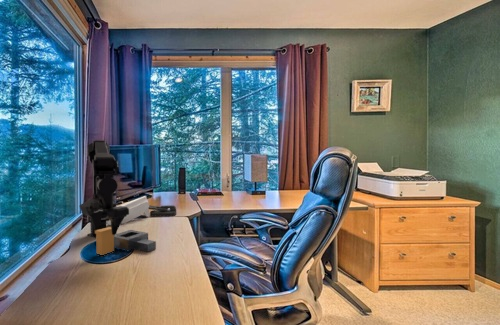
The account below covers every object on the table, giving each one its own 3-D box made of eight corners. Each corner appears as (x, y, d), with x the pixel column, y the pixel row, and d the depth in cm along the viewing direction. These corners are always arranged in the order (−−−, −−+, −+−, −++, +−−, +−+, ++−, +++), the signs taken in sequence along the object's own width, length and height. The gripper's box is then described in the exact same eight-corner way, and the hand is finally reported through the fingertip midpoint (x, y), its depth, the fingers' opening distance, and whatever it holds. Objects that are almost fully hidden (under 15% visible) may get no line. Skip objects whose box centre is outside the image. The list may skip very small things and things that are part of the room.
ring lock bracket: (90, 243, 115) (90, 228, 115) (113, 236, 125) (113, 222, 125) (140, 255, 103) (140, 239, 103) (162, 246, 113) (162, 231, 113)
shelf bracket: (152, 217, 161) (148, 196, 159) (112, 237, 141) (107, 213, 138) (146, 216, 164) (142, 195, 162) (105, 235, 144) (100, 212, 141)
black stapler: (133, 203, 168) (176, 202, 173) (133, 214, 169) (176, 212, 174) (130, 206, 160) (175, 204, 164) (130, 217, 160) (175, 216, 165)
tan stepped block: (95, 255, 102) (94, 230, 102) (109, 250, 108) (109, 226, 108) (100, 256, 101) (100, 231, 101) (115, 251, 107) (115, 227, 106)
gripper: (66, 191, 100) (67, 234, 101) (102, 195, 92) (102, 242, 93) (95, 187, 110) (96, 227, 111) (130, 191, 102) (130, 234, 103)
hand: (105, 232), depth 104 cm, fingers open, 9 cm apart
